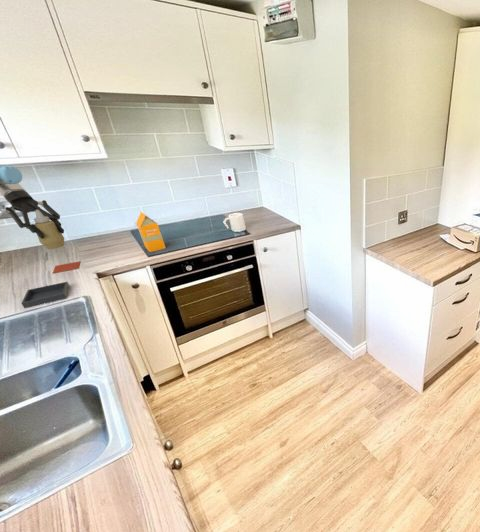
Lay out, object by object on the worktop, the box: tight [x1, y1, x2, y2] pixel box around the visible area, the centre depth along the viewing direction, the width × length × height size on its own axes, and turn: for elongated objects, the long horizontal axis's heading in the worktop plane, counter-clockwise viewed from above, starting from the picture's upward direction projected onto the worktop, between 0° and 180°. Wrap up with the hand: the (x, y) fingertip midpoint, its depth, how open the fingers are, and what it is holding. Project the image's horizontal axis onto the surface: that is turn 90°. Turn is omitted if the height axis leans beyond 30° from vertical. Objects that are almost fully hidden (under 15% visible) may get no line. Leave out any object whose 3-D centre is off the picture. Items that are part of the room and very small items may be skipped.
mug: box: [222, 212, 247, 233], centre depth 204 cm, size 12×9×10 cm
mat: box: [52, 261, 81, 274], centre depth 157 cm, size 9×9×1 cm
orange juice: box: [135, 211, 166, 253], centre depth 175 cm, size 8×9×20 cm
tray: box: [21, 281, 71, 309], centre depth 134 cm, size 12×12×2 cm
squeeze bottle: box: [33, 210, 65, 250], centre depth 147 cm, size 8×8×18 cm
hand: (53, 234), depth 147 cm, fingers closed on squeeze bottle, 6 cm apart
